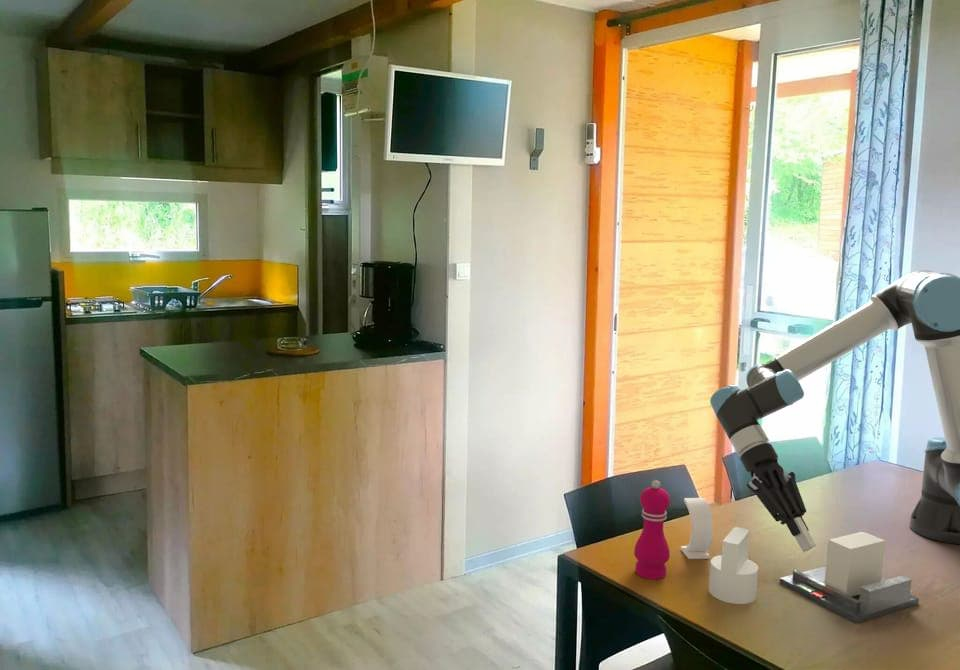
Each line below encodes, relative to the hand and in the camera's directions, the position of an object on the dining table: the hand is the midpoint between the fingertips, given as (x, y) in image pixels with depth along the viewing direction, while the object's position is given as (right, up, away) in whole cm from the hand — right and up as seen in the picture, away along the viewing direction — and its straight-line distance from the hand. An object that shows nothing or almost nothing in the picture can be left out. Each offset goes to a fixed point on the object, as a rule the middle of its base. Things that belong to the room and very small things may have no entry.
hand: (809, 548), depth 169 cm
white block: (+5, -5, -8) cm, 11 cm away
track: (+4, -7, -8) cm, 11 cm away
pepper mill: (-33, -5, -1) cm, 34 cm away
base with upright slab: (-19, -7, -9) cm, 22 cm away
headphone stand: (-21, -4, +9) cm, 24 cm away
